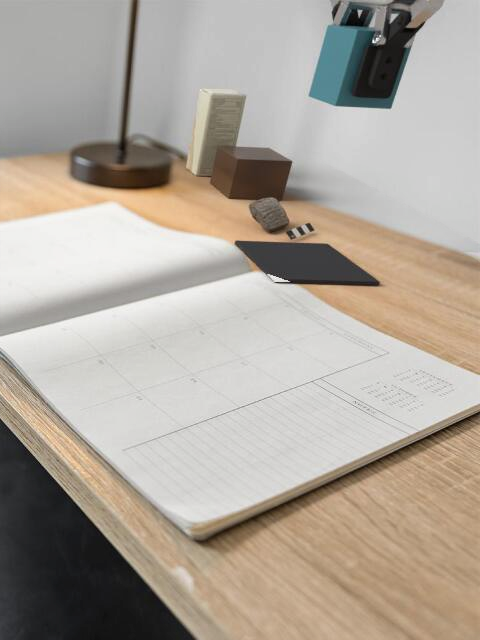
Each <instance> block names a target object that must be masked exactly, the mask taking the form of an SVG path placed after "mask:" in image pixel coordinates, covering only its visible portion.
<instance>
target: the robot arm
mask: <svg viewBox="0 0 480 640" xmlns="http://www.w3.org/2000/svg"><path fill="white" fill-rule="evenodd" d="M329 1H330V6H331V9H332V10H331V19H332V22H331V23H332V24H331V25H341V26H358V27H370V26H371V23H372V21H373V19H374V17H375V19H374V20H375V21H374V33H373V39H372V44H373V45H365V49H364V52H363V55H362V58H361V62H360V65H359V68H358V72H357V75H356V78H355V82H354V85H353V88H352V92H351V93H352V95H353V96H355V97H363V98H382V99H387V98H389V97H390V96H391V94H392V91H393V88H394V85H395V82H396V79H397V76H398V73H399V70H400V67H401V64H402V61H403V58H404V55H405V52H406V49H407V48H409V47H410V46H411V45H412V46H413V44H414V41H415V38H416V35H417V33H418V32H419V31H420V30H421V29H422V28H423V27H424V26H425V24H426V22H427V21H428V20H429V19H431V18H432V17H433V15H435V14H436V13H437V12H438V11H440V10H441V8H442V7H443V5H444V2H445V1H446V0H329ZM359 11H361V13H360V15H359ZM375 14H376V15H375ZM392 15H397V16H395V17H394V19H393V20H392V21H391V19H392ZM415 34H416V35H415Z"/></svg>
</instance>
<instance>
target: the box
mask: <svg viewBox="0 0 480 640" xmlns="http://www.w3.org/2000/svg"><path fill="white" fill-rule="evenodd" d="M246 99H247V94H246V93H244V92H242V91H239V90H237V89H234V88H200V89H199V94H198V98H197V105H196V110H195V115H194V120H193V121H194V122H193V127H192V133H191V137H190V138H191V139H190V144H189V149H188V155H187V161H186V167H185V168H186V169H187V170H188V171H189V172H190V173H192V174H193V175H194V176H196V177H211V175H212V170H213V166H214V161H215V156H216V152H217V147H218V146H236V147H237V144H238V138H239V135H240V134H239V133H240V128H241V124H242V119H243V114H244V110H245V104H246Z"/></svg>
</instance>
